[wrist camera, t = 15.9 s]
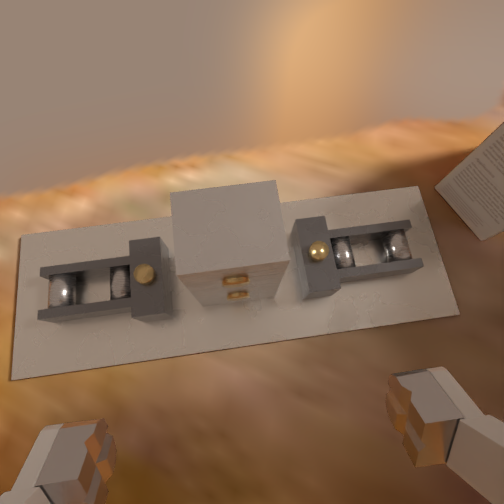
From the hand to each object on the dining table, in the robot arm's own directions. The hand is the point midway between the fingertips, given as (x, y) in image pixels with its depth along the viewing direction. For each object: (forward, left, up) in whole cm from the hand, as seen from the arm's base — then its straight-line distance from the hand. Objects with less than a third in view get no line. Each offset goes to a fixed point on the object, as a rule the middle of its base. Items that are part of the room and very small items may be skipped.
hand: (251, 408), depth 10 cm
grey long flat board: (0, -7, -13) cm, 15 cm away
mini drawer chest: (0, -7, -13) cm, 15 cm away
